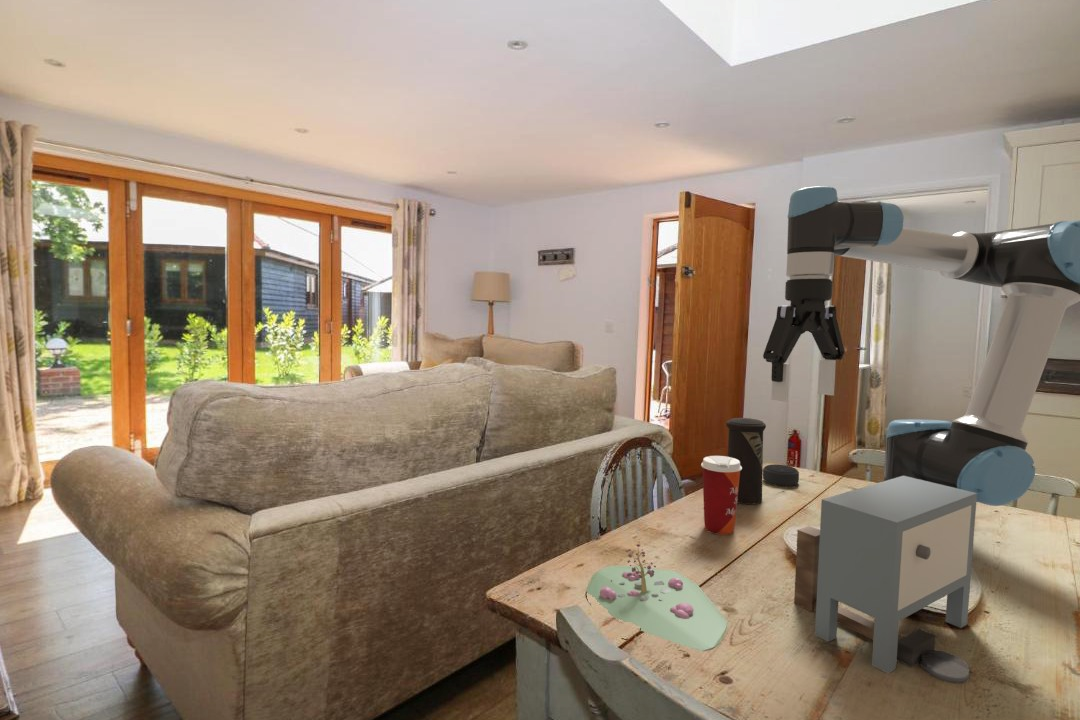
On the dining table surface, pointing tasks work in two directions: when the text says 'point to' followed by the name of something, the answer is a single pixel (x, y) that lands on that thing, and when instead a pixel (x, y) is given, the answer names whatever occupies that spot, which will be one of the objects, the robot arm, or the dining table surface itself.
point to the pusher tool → (807, 598)
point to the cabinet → (894, 557)
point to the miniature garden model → (659, 603)
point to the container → (747, 456)
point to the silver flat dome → (945, 666)
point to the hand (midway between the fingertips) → (803, 397)
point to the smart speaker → (780, 475)
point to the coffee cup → (720, 493)
